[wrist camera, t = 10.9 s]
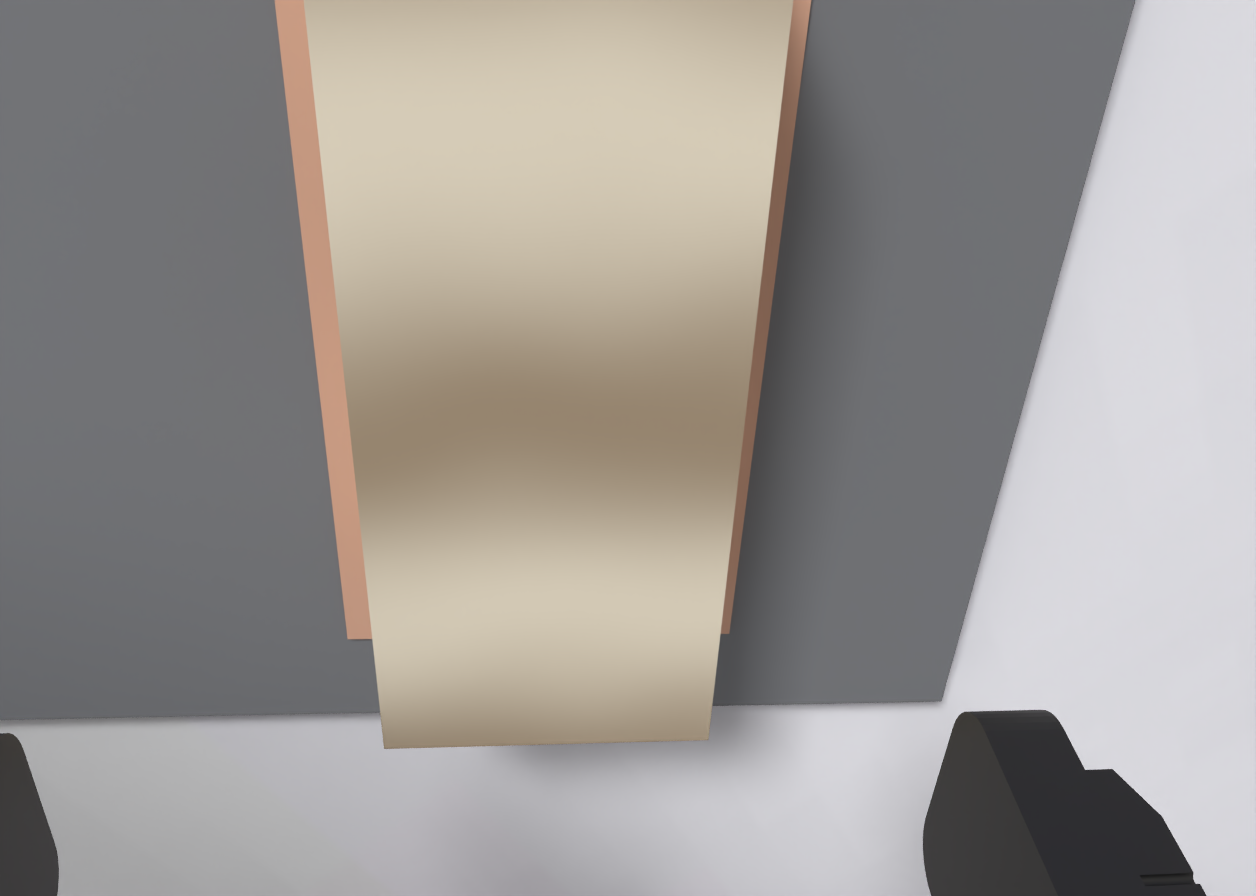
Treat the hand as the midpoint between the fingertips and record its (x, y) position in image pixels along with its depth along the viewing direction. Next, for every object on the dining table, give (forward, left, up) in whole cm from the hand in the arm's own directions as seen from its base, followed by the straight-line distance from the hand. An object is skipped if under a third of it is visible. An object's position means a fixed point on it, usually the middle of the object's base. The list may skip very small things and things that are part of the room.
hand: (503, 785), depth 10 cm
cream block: (+1, 0, -9) cm, 9 cm away
